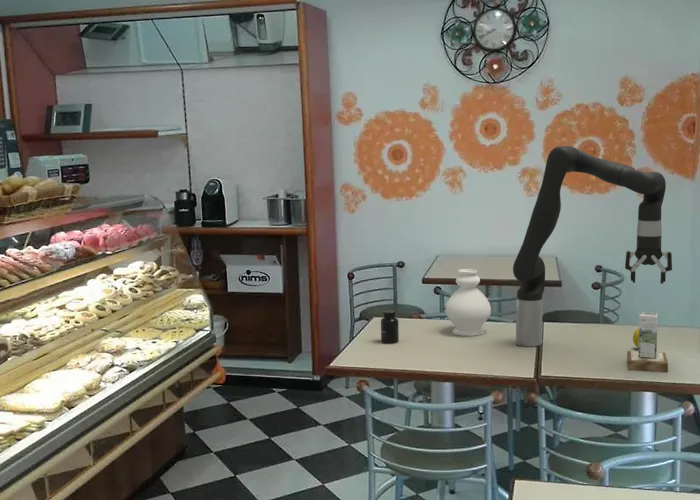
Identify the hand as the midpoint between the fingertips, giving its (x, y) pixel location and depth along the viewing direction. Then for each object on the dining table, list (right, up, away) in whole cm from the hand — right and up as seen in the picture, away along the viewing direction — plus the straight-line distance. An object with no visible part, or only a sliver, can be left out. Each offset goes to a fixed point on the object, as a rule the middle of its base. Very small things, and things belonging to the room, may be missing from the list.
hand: (647, 282), depth 253 cm
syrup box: (+1, -25, +3) cm, 25 cm away
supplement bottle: (-82, -25, +45) cm, 97 cm away
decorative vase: (-50, -22, +55) cm, 78 cm away
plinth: (+1, -28, +4) cm, 28 cm away
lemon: (+6, -25, +23) cm, 34 cm away
